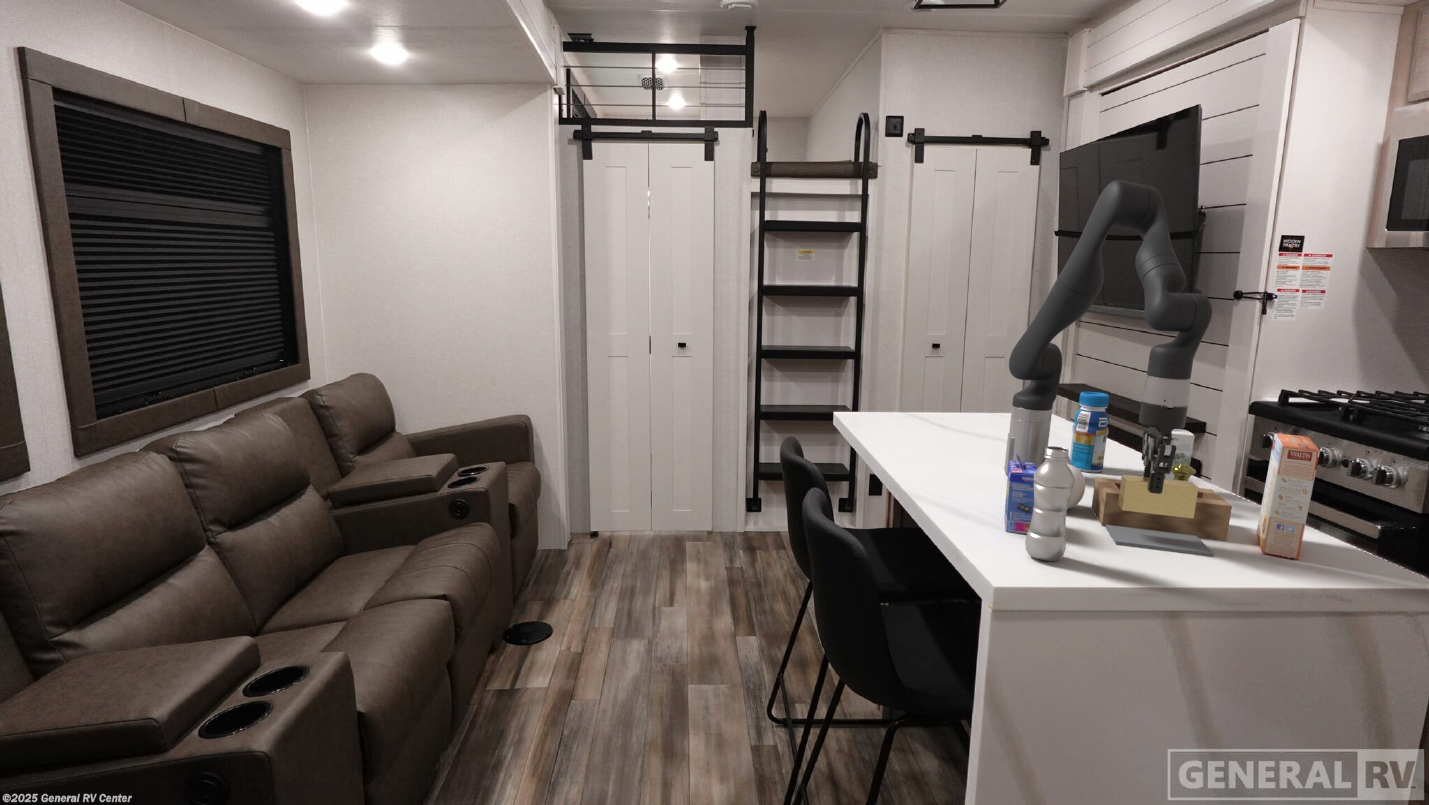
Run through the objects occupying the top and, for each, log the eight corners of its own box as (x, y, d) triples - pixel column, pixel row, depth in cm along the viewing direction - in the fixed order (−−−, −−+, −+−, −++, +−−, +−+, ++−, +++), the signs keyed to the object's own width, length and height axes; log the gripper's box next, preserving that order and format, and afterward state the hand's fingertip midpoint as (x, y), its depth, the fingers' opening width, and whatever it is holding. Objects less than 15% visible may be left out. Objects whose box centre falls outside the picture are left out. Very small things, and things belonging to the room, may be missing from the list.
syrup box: (1173, 486, 184) (1182, 428, 182) (1186, 494, 179) (1195, 433, 176) (1149, 485, 185) (1157, 427, 182) (1160, 492, 179) (1169, 432, 177)
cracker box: (1301, 561, 138) (1321, 449, 134) (1260, 554, 141) (1279, 444, 137) (1292, 539, 149) (1311, 436, 146) (1255, 533, 152) (1273, 431, 149)
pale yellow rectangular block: (1122, 510, 145) (1126, 479, 144) (1117, 504, 148) (1122, 474, 147) (1193, 518, 141) (1198, 487, 140) (1187, 512, 145) (1191, 481, 144)
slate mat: (1115, 544, 143) (1116, 541, 143) (1105, 527, 152) (1105, 524, 152) (1212, 556, 139) (1213, 553, 138) (1195, 538, 148) (1196, 535, 148)
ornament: (1081, 505, 167) (1088, 452, 165) (1082, 518, 158) (1089, 462, 155) (1031, 498, 171) (1037, 446, 169) (1029, 510, 162) (1035, 456, 160)
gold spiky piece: (1199, 508, 167) (1206, 465, 166) (1192, 516, 162) (1199, 470, 160) (1162, 500, 172) (1168, 458, 171) (1153, 507, 167) (1160, 463, 165)
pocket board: (1101, 525, 154) (1106, 492, 152) (1091, 508, 165) (1095, 477, 164) (1226, 540, 147) (1232, 506, 146) (1206, 521, 159) (1211, 489, 157)
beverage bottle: (1063, 463, 203) (1072, 390, 200) (1096, 466, 202) (1106, 392, 198) (1073, 472, 195) (1083, 395, 191) (1108, 474, 194) (1118, 397, 190)
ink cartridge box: (1002, 516, 157) (1009, 448, 154) (1031, 520, 155) (1039, 451, 153) (1003, 531, 148) (1011, 459, 145) (1034, 536, 146) (1042, 463, 144)
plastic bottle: (1016, 551, 138) (1029, 444, 134) (1052, 551, 138) (1065, 444, 135) (1034, 565, 131) (1047, 453, 128) (1071, 565, 132) (1086, 453, 128)
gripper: (1133, 393, 149) (1121, 477, 152) (1151, 405, 136) (1138, 497, 139) (1176, 396, 147) (1163, 482, 150) (1199, 409, 134) (1184, 502, 137)
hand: (1151, 489), depth 144 cm, fingers closed on pale yellow rectangular block, 4 cm apart
